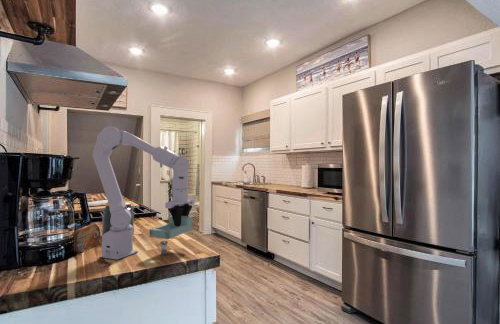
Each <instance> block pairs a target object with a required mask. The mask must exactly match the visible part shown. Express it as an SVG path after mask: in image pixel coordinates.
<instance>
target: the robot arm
mask: <svg viewBox="0 0 500 324" xmlns="http://www.w3.org/2000/svg"><path fill="white" fill-rule="evenodd" d="M96 137H97V138H96V141H95V144H94V148H93V152H92V158H93V162H94V164H95V168H96V170H97V172H98V176H99V180H100V182H101V185H102V188H103V190H104V195H105V197H106V199H107V203H109V208H110V213H111V219H110V223H111V225H112V227H110V231H108V232H106V233H105V234H104V235H102V237H101V255H99V256H100V258H104V259H111V260H120V259H123V258H125V257H128V256H130V255H131V256H132V255H133V254H136V253H139V250H136V249H134V248H133V246H134V245H133V242H134V241H133V239H134V238H133V235H134V233H133V226H132V225H130V222H131V218H132V214H131V211H130V210H129V209H128V208H127V207H126V205H125V202H124V200H125V199H124V197H123V195H122V192H121V189H120V186H119V183H118V181H117V180H118V179H117V177H116V174H115V171H114V169H113V168H114V167H113V165H112V163H111V159H110V156H111V155H112V154H113V152H114V150H115V149H116V148H118V147H119V146H120V145H122V146H132V147H134V148H136V149H138V150H140V151H143V152H144V153H147V154H149V155H151V156H152V159H153V161H155V162H157V163H159V164H161V165H163V166H165V167H167V168H171V169H172V170H173V171H172V173H173V174H172V200H171V201H167V202H165V203H164V204H165V207H164V208H165V209H168V210H167V211H168V212H169V213H170V216H172V218H173V222H174V226H177V227H179V226H180V225H181V216H190V212H191V210H192V208H193V204H194V203H195V199H194V198H189V171H188V170H189V169H190V165H191V164H190V162H189V160H188V159H187V158H186V157H184V156H180V153H175V152H174V151H172V150H170V149H169V147H167V146H161V145H160V146H157V147H156V146H154V145H152V144H151V143H149V142H147V141H145V140H143V139H142V138H140V137H138V136H136V135H134V134H133V133H130V132H128V131H125V130H123V129H120V130H119V128H117V127H116V126H112V125H110V126H105V127H104V128H103V129H102V130H100V131H99V133H98V134H97V136H96Z"/></svg>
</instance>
